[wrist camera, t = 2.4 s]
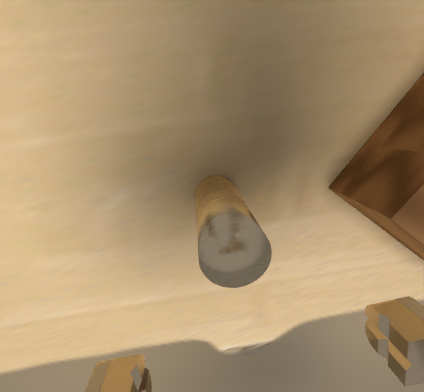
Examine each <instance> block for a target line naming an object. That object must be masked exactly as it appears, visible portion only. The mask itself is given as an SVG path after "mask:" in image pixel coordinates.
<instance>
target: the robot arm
mask: <svg viewBox="0 0 424 392" xmlns="http://www.w3.org/2000/svg"><path fill="white" fill-rule="evenodd" d="M365 314H366V316H367V317H368V318H369V319H368V321H367V322H366V324H365V332H366V335H367V338H368V340H369V342H370V344H371V345H372V347H373V348H374V349H375V351H376V352H377V353H378V354H379V355H381V356H383V357H385V358H387V360H388V366H389V368H390V369H391V370H392V371H393V372H394V374H395V375H396V376H397V378H398V379H399V380H400V381H401V382H402V384H403V385H404V386H410V385H416V384H421V383H424V306H423V305H422V304H420V303H419V302H418V301H416V300H415V299H414V298H411V297H409V296H408V297H403V298H399V299H395V300H389V301H385V302H380V303H376V304H371V305H367V307H366V308H365ZM144 366H145V359H144V356H143V354H136V355H131V356H126V357H120V358H114V359H110V360H105V361H100V362H98V363H97V364H96V365H95V367H94V369H93V372H92V374H91V377H90V379H89V381H88V384H87V386H86V389H85V392H152V382H151V376H150V373H149V370H147V369H146V368H144Z"/></svg>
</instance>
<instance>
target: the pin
mask: <svg viewBox="0 0 424 392" xmlns="http://www.w3.org/2000/svg"><path fill="white" fill-rule="evenodd" d="M196 214H197V234H198V254H199V264H200V268H201V270H202V272H203V273H204V275H205V276H206V277H207V278H208V279H209V280H210V281H211V282H213V283H215V284H217V285H219V286H222V287H228V288H237V287H242V286H246V285H248V284H251V283H252V282H254V281H256V280H257V279H258V278H260V277H261V276H262V275H263V274H264V272H265V271H266V270H267V268H268V266H269V264H270V260H271V254H272V253H271V245H270V242H269V240H268V238H267V237H266V235H265V234H264V232H263V231H262V229H261V227H260V226H259V224H258V223H257V221H256V220H255V218H254V216H253V215H252V213H251V212H250V210H249V209H248V207H247V205H246V204H245V202H244V201H243V199H242V198H241V196H240V195H239V193H238V191H237V190H236V188H235V187H234V185H233V184H232V182H231V181H229V180H228V179H226V178H224V177H221V176H212V177H209V178H206V179H205V180H203V181H202V182H201V183H200V184H199V186H198V188H197V190H196Z"/></svg>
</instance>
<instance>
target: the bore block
mask: <svg viewBox="0 0 424 392" xmlns="http://www.w3.org/2000/svg"><path fill="white" fill-rule="evenodd" d="M329 188H330V189H331V190H332V191H334V192H335V193H336V194H337V195H339V196H340V197H341V198H343V199H344V200H345V201H347V202H348V203H349V204H351V205H352V206H353V207H355V208H356V209H357V210H359V211H360V212H361V213H362V214H364V215H365V216H366V217H368V218H369V219H370V220H372V221H373V222H374V223H376V224H377V225H378V226H380V227H381V228H382V229H383V230H385V231H386V232H387V233H389V234H390V235H391V236H393V237H394V238H395V239H397V240H398V241H399V242H401V243H402V244H403V245H405V246H406V247H407V248H408V249H410V250H411V251H412V252H414V253H415V254H416V255H418V256H419V257H420V258H422V259H423V260H424V74H423V75H422V76H421V78H420V79H419V80H418V81H417V82H416V84H415V85H414V86H413V87H412V88H411V90H410V91H409V92H408V93H407V94H406V96H405V97H404V98H403V99H402V100H401V102H400V103H399V104H398V105H397V106H396V108H395V109H394V110H393V111H392V112H391V114H390V115H389V116H388V117H387V118H386V120H385V121H384V122H383V123H382V124H381V125H380V127H379V128H378V129H377V130H376V131H375V133H374V134H373V135H372V136H371V137H370V139H369V140H368V141H367V142H366V143H365V145H364V146H363V147H362V148H361V149H360V151H359V152H358V153H357V154H356V155H355V157H354V158H353V159H352V160H351V161H350V163H349V164H348V165H347V166H346V167H345V169H344V170H343V171H342V172H341V173H340V175H339V176H338V177H337V178H336V179H335V181H334V182H333V183H332V184H331V185H330V187H329Z"/></svg>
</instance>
